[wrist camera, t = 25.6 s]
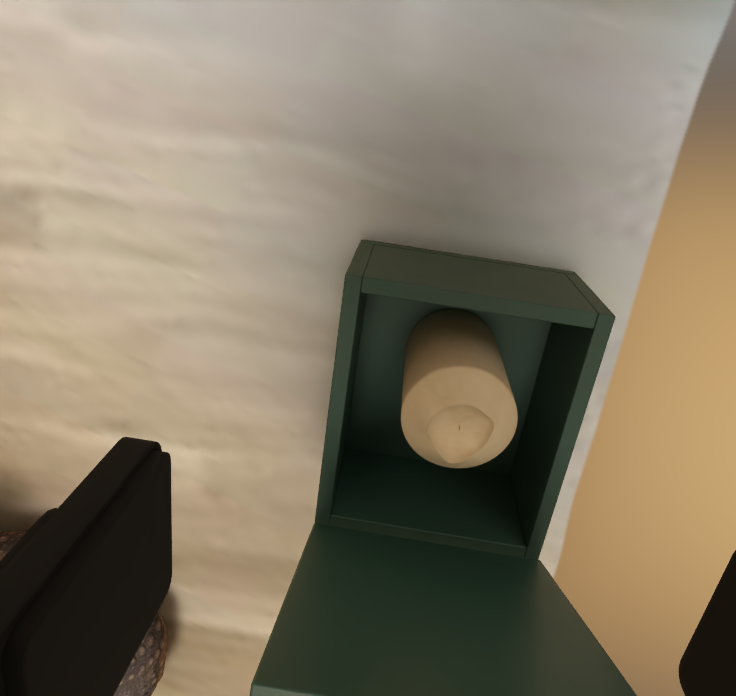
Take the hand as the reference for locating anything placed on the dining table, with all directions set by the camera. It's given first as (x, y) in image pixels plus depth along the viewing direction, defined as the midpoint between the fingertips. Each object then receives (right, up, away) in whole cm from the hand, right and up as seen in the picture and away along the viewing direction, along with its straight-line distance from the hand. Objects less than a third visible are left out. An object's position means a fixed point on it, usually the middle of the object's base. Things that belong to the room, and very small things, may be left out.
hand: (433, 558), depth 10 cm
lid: (+2, -7, +15) cm, 17 cm away
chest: (+4, +2, +27) cm, 28 cm away
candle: (+4, +3, +26) cm, 27 cm away
